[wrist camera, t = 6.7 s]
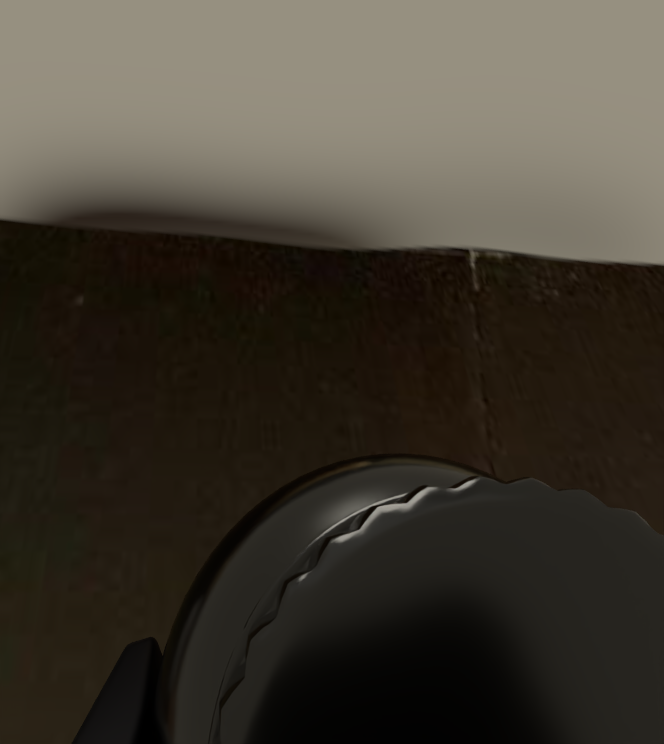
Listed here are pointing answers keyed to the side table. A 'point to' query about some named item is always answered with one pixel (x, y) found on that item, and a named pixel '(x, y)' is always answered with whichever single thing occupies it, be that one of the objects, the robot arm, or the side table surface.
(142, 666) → the robot arm
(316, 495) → the supplement bottle
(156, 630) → the side table surface
